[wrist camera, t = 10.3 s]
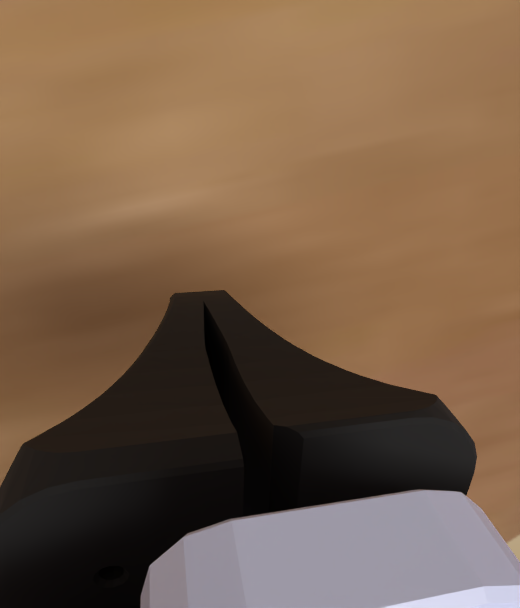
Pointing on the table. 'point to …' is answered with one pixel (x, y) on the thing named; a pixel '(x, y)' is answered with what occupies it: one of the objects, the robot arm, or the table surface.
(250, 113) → the table surface
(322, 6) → the table surface
